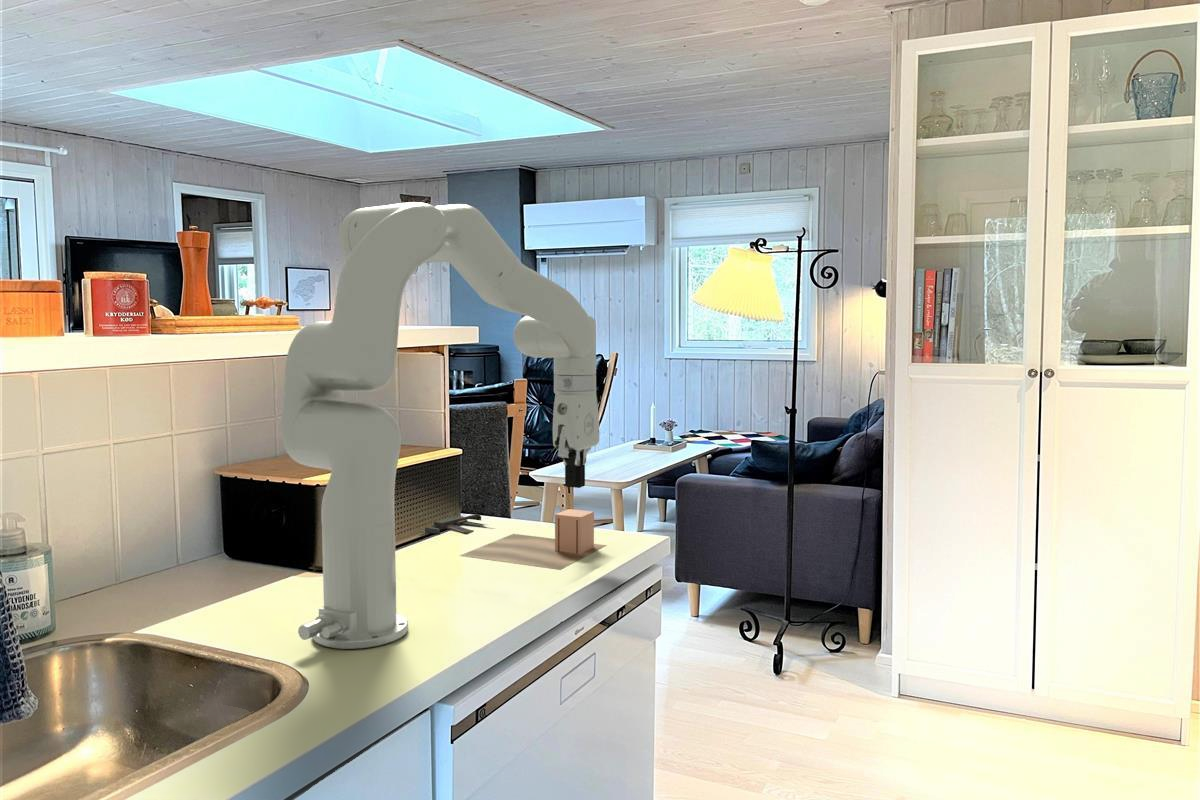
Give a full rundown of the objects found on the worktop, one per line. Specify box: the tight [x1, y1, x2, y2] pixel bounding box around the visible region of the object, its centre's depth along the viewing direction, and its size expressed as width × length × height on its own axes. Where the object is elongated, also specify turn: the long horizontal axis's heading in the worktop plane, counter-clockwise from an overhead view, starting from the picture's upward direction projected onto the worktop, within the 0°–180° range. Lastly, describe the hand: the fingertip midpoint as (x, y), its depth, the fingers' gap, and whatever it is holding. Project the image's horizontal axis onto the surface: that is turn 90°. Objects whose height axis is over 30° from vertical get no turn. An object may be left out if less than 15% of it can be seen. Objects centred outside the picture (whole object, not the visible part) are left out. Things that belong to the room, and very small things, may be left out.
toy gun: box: [424, 513, 496, 535], centre depth 180 cm, size 3×19×15 cm
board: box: [459, 533, 608, 571], centre depth 159 cm, size 18×20×2 cm
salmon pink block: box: [554, 508, 595, 554], centre depth 160 cm, size 5×5×7 cm
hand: (575, 486), depth 159 cm, fingers closed
